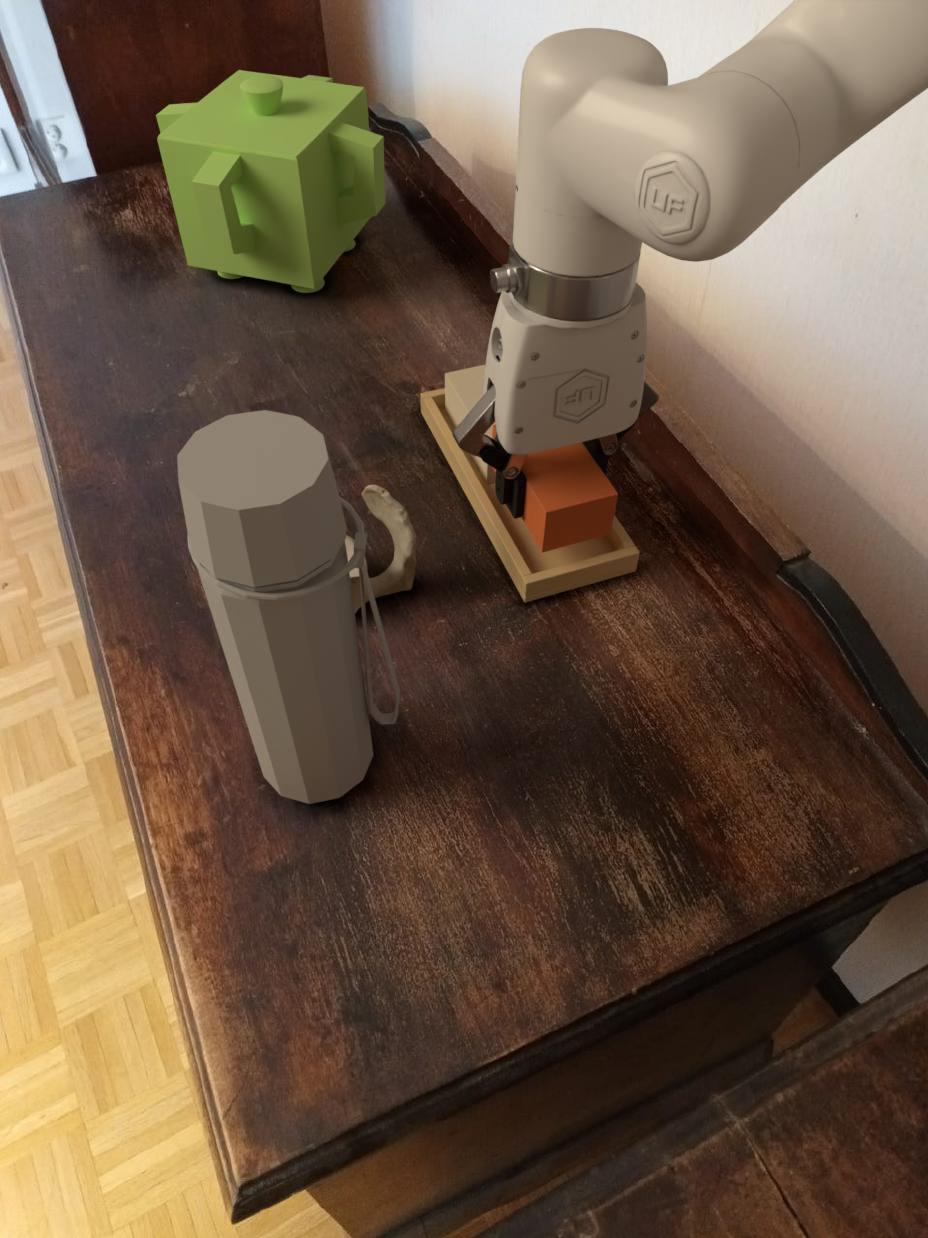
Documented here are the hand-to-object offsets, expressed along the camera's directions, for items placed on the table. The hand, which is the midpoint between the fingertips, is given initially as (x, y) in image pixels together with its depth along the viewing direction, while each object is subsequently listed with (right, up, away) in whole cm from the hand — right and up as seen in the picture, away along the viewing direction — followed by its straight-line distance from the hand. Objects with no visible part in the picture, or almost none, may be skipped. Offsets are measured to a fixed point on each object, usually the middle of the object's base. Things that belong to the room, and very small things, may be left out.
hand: (549, 494), depth 69 cm
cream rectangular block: (-4, +6, +9) cm, 11 cm away
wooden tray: (-2, +1, +6) cm, 7 cm away
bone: (-14, -8, -1) cm, 16 cm away
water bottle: (-15, -19, -10) cm, 26 cm away
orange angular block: (0, 0, 0) cm, 0 cm away
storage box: (-25, +29, +29) cm, 48 cm away
